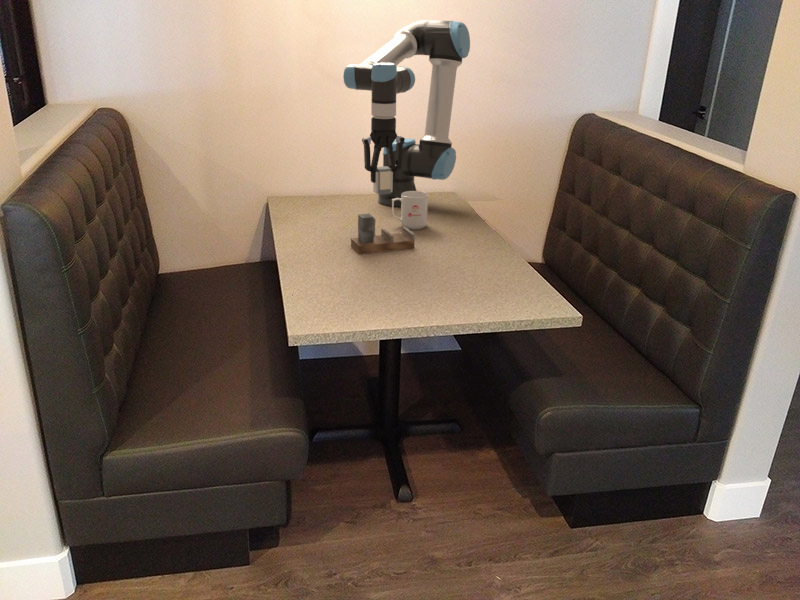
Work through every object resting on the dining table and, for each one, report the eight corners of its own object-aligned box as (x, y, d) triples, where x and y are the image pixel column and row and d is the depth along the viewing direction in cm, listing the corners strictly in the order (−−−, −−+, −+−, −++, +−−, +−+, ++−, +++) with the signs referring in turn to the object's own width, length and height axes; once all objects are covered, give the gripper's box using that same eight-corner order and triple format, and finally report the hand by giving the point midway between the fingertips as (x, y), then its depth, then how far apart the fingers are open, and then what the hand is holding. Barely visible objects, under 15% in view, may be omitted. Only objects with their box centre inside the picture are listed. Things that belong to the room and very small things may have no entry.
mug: (424, 222, 244) (425, 190, 240) (428, 230, 236) (430, 197, 232) (390, 222, 243) (390, 191, 238) (393, 230, 235) (393, 198, 230)
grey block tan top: (375, 191, 226) (375, 167, 222) (386, 190, 227) (387, 166, 224) (379, 195, 222) (379, 170, 219) (391, 194, 223) (391, 169, 220)
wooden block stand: (404, 240, 226) (405, 208, 222) (414, 247, 219) (415, 215, 215) (350, 245, 220) (350, 213, 216) (359, 254, 213) (359, 220, 209)
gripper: (405, 113, 221) (403, 187, 231) (353, 115, 215) (353, 190, 225) (414, 117, 215) (412, 192, 224) (360, 119, 209) (360, 196, 218)
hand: (382, 191), depth 225 cm, fingers closed on grey block tan top, 4 cm apart
